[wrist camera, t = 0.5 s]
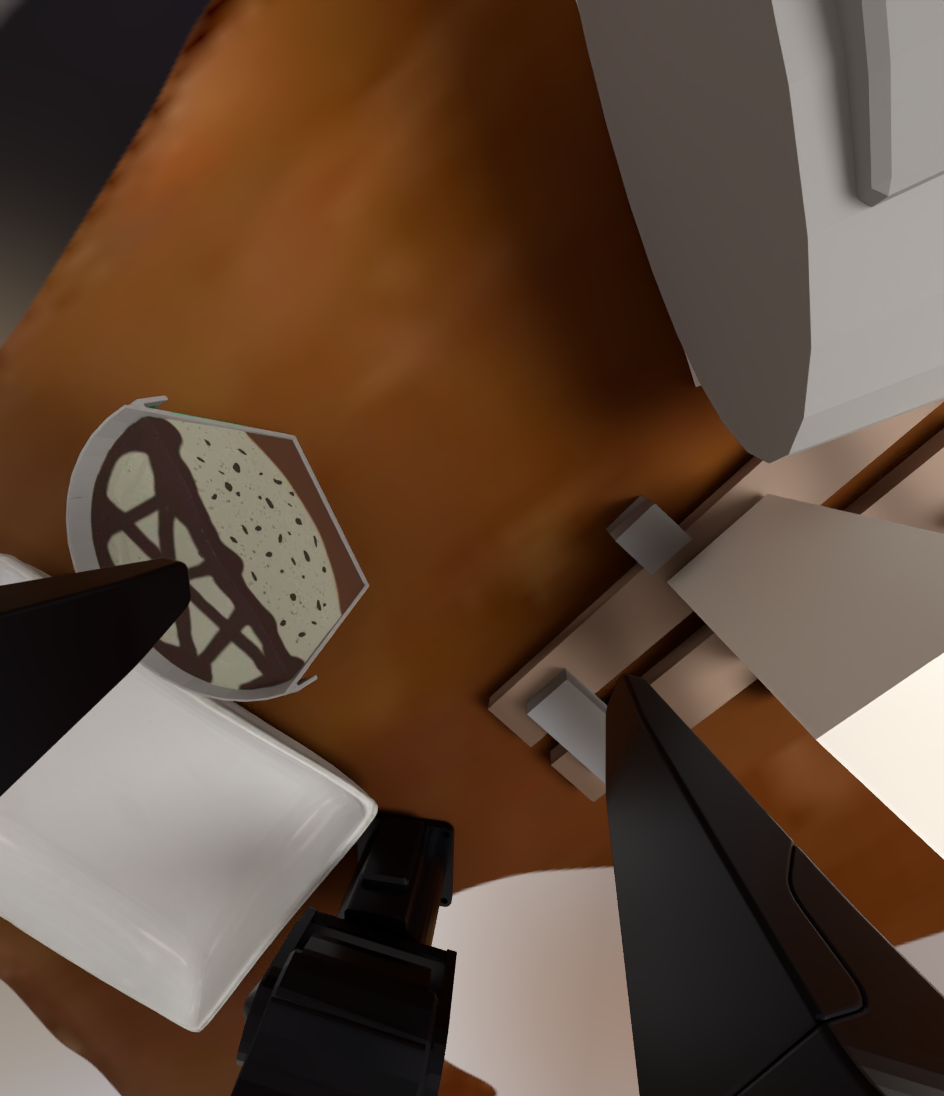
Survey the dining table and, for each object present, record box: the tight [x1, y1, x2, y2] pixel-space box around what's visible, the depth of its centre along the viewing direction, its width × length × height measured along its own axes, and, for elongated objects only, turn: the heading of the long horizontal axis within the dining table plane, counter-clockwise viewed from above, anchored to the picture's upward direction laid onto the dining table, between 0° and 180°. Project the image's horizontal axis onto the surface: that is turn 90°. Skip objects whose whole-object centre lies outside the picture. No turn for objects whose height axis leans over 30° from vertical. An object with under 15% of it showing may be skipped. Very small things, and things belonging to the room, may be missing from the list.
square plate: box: [0, 553, 378, 1032], centre depth 31 cm, size 27×27×4 cm
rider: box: [667, 494, 944, 859], centre depth 16 cm, size 6×6×13 cm
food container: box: [66, 395, 369, 702], centre depth 21 cm, size 12×6×10 cm, turn 24°
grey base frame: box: [488, 399, 944, 802], centre depth 22 cm, size 26×13×3 cm, turn 138°
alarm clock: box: [576, 0, 944, 464], centre depth 13 cm, size 23×6×13 cm, turn 23°
